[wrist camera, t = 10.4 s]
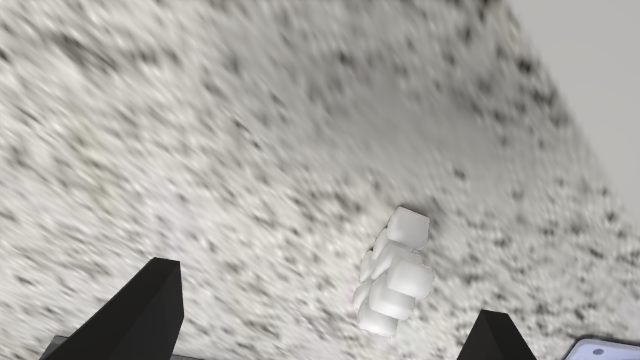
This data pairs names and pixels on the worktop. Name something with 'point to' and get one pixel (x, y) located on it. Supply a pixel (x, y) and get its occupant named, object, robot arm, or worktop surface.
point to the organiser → (59, 340)
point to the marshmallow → (393, 274)
